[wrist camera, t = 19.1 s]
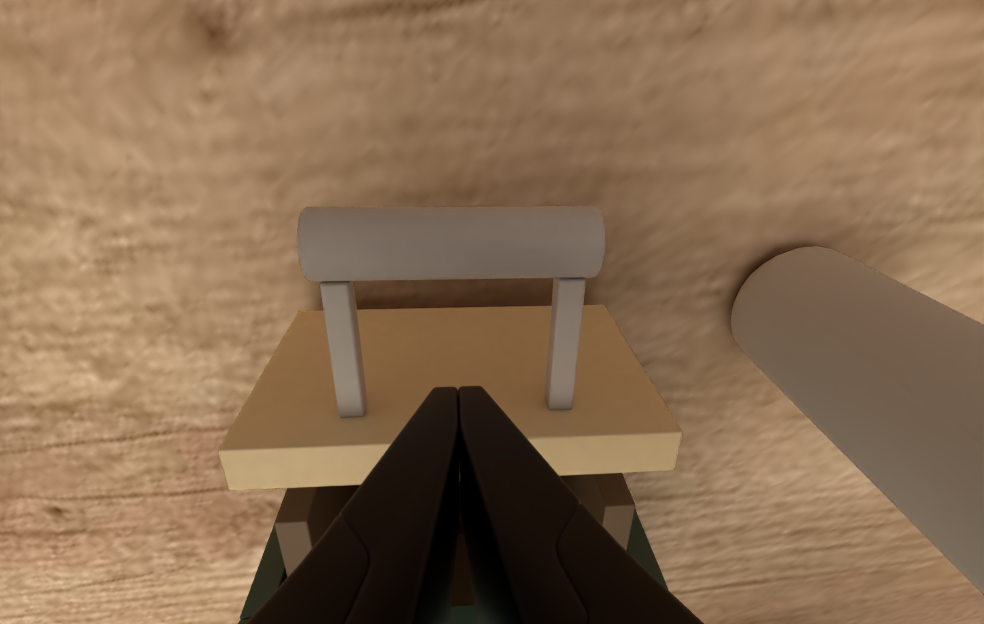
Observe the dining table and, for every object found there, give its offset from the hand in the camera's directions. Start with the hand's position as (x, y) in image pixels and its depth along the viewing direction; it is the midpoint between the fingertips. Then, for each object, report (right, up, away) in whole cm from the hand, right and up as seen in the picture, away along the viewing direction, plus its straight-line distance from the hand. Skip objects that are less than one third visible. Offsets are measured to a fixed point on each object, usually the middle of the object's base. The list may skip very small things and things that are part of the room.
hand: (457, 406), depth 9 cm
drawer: (-1, -1, +10) cm, 10 cm away
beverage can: (+12, +2, +11) cm, 16 cm away
